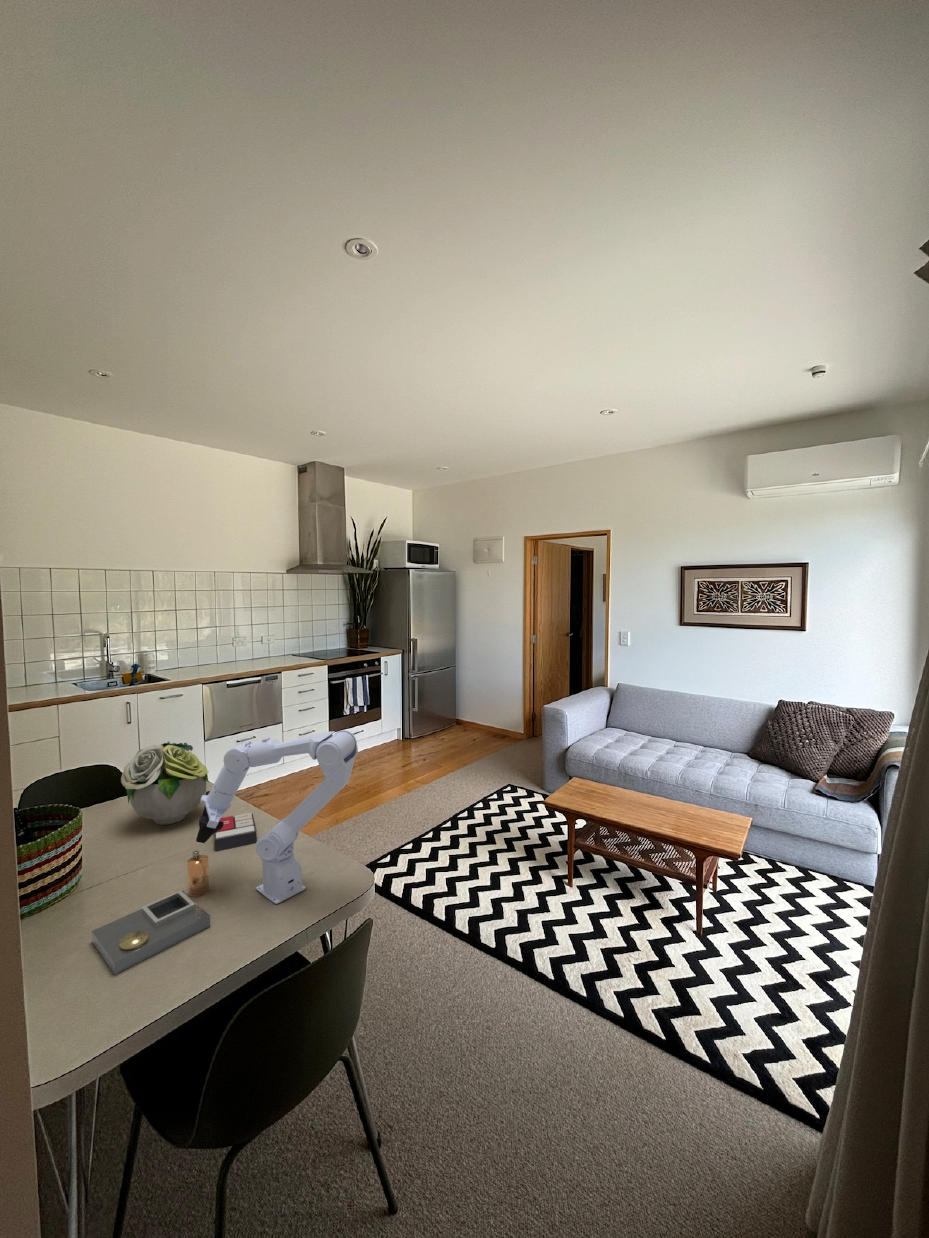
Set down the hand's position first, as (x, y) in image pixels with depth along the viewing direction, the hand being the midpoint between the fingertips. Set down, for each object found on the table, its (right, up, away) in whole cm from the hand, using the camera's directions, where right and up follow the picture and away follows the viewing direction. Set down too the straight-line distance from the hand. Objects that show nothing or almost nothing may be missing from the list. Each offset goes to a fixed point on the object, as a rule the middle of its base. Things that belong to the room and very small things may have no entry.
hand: (202, 830), depth 128 cm
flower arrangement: (-27, -11, +34) cm, 45 cm away
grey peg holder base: (-1, -14, -19) cm, 24 cm away
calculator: (-3, -12, +24) cm, 26 cm away
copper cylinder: (+1, -13, -4) cm, 14 cm away
